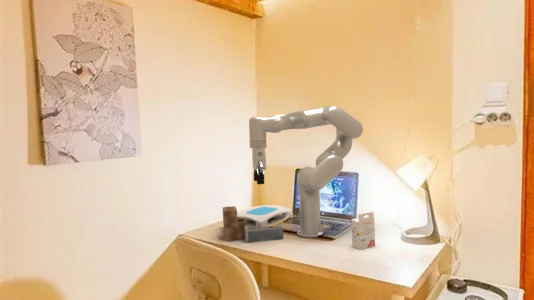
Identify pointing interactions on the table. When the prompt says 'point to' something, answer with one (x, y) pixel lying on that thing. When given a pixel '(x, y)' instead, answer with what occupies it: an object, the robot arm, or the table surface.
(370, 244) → the ink cartridge box
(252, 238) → the grey rectangular block
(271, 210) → the white step stool
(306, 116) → the robot arm
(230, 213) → the brown stepped block
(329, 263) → the table surface
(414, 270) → the table surface
